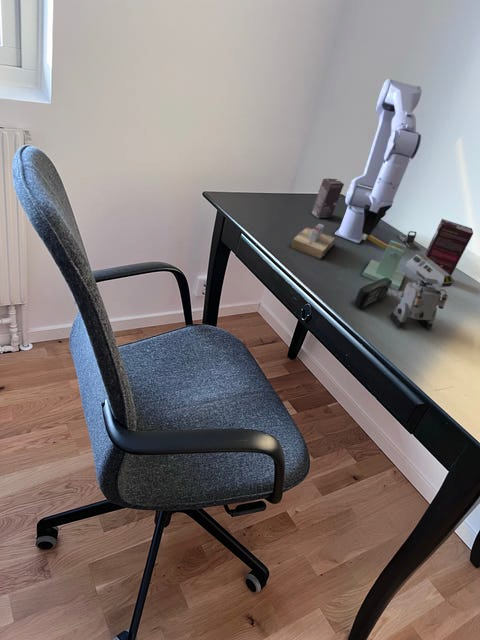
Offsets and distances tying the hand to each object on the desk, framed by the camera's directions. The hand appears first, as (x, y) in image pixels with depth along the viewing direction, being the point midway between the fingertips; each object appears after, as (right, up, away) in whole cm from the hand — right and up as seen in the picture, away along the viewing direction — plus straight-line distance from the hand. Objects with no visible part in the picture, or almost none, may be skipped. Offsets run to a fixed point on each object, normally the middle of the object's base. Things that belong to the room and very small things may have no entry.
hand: (368, 230), depth 124 cm
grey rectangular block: (-13, -1, +8) cm, 15 cm away
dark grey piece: (-2, -19, -9) cm, 21 cm away
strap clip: (+21, +1, +29) cm, 35 cm away
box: (-7, +11, +32) cm, 34 cm away
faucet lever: (+3, -5, +1) cm, 6 cm away
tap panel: (-14, -3, +10) cm, 17 cm away
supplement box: (+21, -11, +11) cm, 26 cm away
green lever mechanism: (+5, -12, +4) cm, 13 cm away
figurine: (+5, -23, -13) cm, 27 cm away
